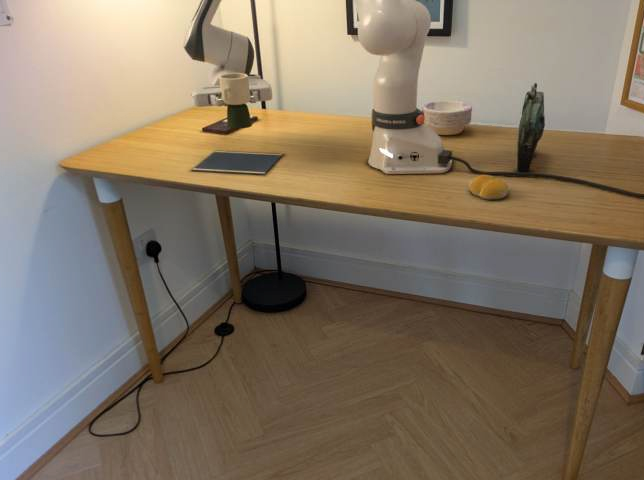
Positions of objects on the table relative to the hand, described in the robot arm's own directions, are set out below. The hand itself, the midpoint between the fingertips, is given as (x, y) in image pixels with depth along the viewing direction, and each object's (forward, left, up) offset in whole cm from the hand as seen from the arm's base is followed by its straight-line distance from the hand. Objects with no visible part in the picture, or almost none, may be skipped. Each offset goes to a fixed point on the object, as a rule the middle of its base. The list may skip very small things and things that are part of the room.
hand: (237, 101), depth 142 cm
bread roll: (-64, +9, -17) cm, 67 cm away
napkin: (+3, -2, -17) cm, 17 cm away
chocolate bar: (+19, -36, -17) cm, 44 cm away
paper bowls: (-51, -39, -17) cm, 66 cm away
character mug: (+1, -1, -7) cm, 7 cm away
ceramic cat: (-74, -14, -17) cm, 77 cm away
